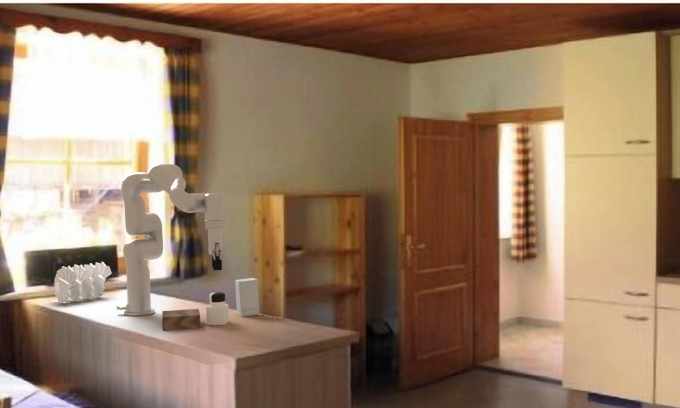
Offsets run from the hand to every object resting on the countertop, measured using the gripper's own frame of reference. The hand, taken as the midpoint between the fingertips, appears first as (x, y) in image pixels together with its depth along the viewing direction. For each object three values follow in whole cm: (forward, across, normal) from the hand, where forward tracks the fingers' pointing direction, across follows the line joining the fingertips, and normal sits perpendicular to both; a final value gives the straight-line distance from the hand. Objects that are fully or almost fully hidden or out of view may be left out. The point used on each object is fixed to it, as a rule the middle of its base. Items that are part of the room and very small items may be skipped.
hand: (217, 268), depth 284 cm
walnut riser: (+21, 0, -14) cm, 26 cm away
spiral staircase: (+20, -81, -60) cm, 103 cm away
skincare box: (+22, -14, +13) cm, 29 cm away
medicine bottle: (+22, 0, 0) cm, 22 cm away
